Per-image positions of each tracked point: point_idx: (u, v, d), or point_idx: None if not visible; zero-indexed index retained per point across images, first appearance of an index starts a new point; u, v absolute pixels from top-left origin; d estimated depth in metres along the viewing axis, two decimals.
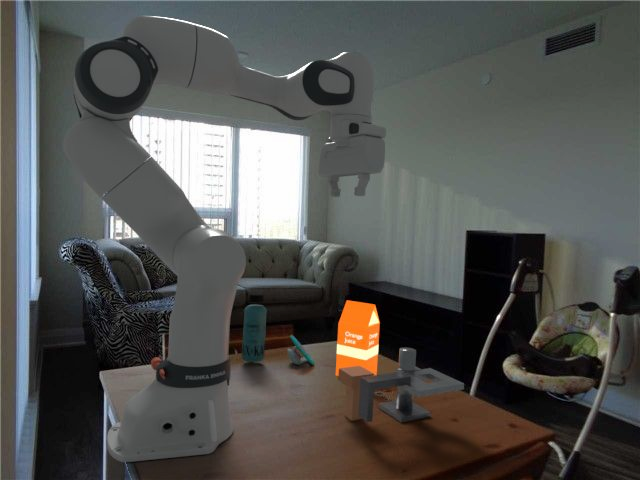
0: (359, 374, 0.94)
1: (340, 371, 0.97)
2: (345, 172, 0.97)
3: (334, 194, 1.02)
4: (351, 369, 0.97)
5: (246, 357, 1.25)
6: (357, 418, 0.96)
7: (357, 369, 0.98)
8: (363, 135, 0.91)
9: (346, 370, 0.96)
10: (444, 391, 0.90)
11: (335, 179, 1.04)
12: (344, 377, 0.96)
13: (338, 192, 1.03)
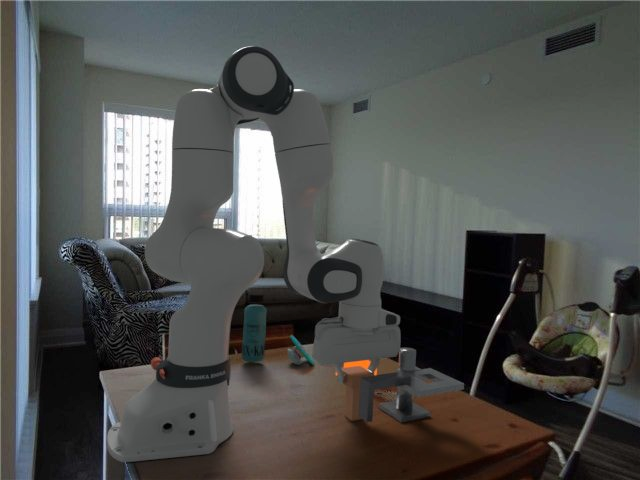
0: (359, 374, 0.94)
1: None
2: (367, 359, 0.96)
3: None
4: (351, 369, 0.97)
5: (246, 357, 1.25)
6: (357, 418, 0.96)
7: (357, 369, 0.98)
8: (396, 325, 0.98)
9: (346, 370, 0.96)
10: (444, 391, 0.90)
11: None
12: None
13: None
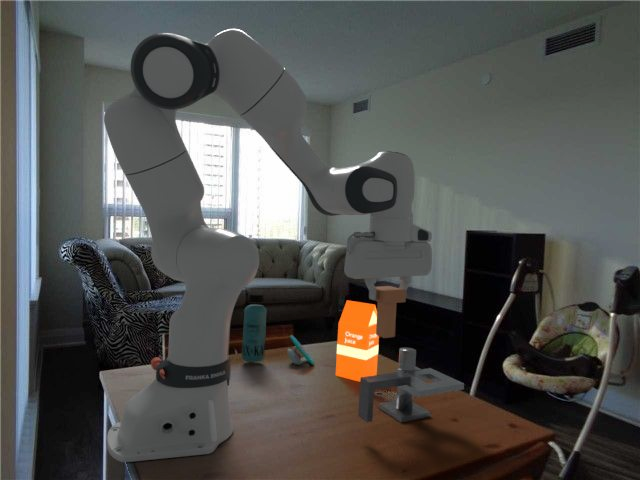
0: (391, 290, 0.93)
1: None
2: (399, 275, 0.94)
3: None
4: (382, 287, 0.96)
5: (246, 357, 1.25)
6: (389, 336, 0.94)
7: (388, 287, 0.96)
8: (427, 242, 0.96)
9: (377, 288, 0.95)
10: (444, 391, 0.90)
11: None
12: None
13: None
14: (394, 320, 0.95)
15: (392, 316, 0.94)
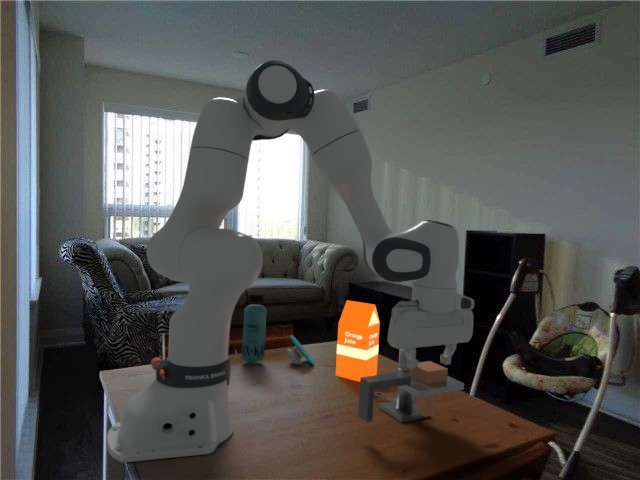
0: (433, 369, 0.92)
1: None
2: (441, 343, 0.93)
3: None
4: (422, 364, 0.95)
5: (246, 357, 1.25)
6: (430, 414, 0.94)
7: (429, 364, 0.95)
8: None
9: (419, 365, 0.94)
10: (444, 391, 0.90)
11: None
12: (416, 372, 0.94)
13: None
14: (435, 398, 0.94)
15: None
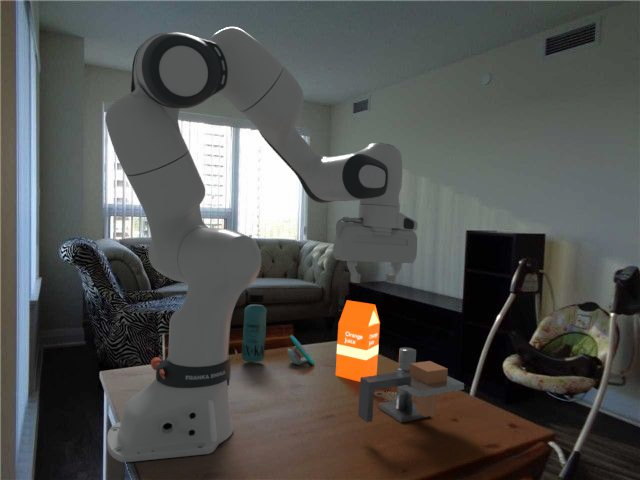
0: (433, 369, 0.92)
1: (412, 366, 0.95)
2: (385, 261, 0.99)
3: None
4: (422, 364, 0.95)
5: (246, 357, 1.25)
6: (430, 414, 0.94)
7: (429, 364, 0.95)
8: (413, 231, 1.01)
9: (419, 365, 0.94)
10: (444, 391, 0.90)
11: None
12: (416, 372, 0.94)
13: None
14: (435, 398, 0.94)
15: None
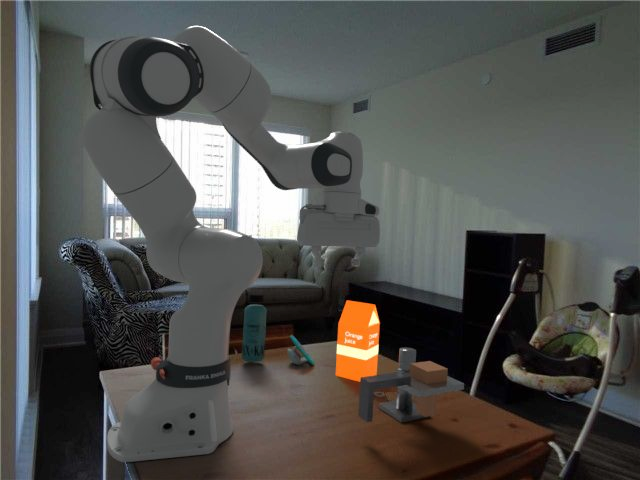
0: (433, 369, 0.92)
1: (412, 366, 0.95)
2: (348, 245, 1.03)
3: None
4: (422, 364, 0.95)
5: (246, 357, 1.25)
6: (430, 414, 0.94)
7: (429, 364, 0.95)
8: None
9: (419, 365, 0.94)
10: (444, 391, 0.90)
11: None
12: (416, 372, 0.94)
13: None
14: (435, 398, 0.94)
15: None
